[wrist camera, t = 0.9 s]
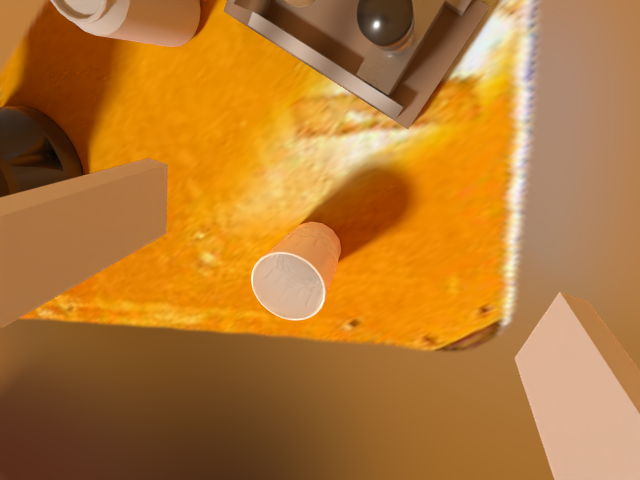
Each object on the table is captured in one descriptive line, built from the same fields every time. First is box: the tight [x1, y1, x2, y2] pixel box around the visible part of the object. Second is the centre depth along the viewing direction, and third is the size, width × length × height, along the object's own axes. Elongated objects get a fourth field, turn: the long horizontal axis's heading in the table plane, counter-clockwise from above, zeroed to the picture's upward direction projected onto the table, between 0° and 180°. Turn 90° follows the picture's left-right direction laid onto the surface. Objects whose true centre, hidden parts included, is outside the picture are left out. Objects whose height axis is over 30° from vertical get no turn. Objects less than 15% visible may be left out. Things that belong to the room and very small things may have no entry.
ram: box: [356, 0, 446, 95], centre depth 23 cm, size 3×7×16 cm, turn 151°
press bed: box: [224, 0, 490, 129], centre depth 28 cm, size 21×11×8 cm, turn 61°
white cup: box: [251, 221, 341, 320], centre depth 38 cm, size 8×8×10 cm
